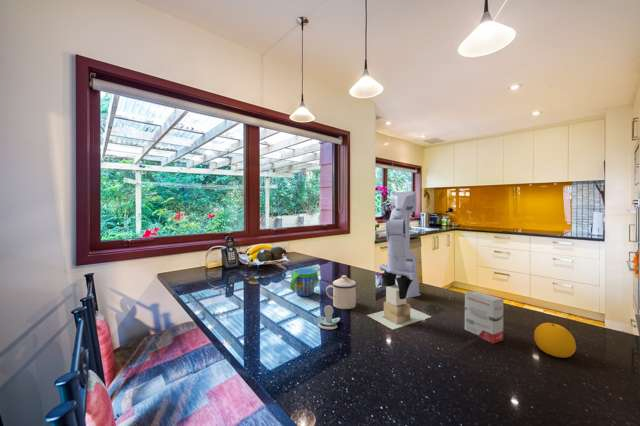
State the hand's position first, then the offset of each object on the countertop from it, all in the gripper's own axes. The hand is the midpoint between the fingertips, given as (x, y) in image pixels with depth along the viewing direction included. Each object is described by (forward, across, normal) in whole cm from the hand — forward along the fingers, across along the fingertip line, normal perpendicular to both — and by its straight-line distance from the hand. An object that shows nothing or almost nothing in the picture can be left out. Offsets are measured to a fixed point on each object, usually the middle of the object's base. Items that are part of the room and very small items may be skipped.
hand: (396, 296), depth 85 cm
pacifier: (+8, -8, -22) cm, 25 cm away
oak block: (+7, 0, 0) cm, 7 cm away
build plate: (+8, -1, +2) cm, 8 cm away
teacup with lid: (+8, -20, -9) cm, 23 cm away
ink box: (+8, +20, +14) cm, 26 cm away
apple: (+8, +34, +20) cm, 40 cm away
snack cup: (+8, -39, -15) cm, 43 cm away
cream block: (+2, 0, 0) cm, 2 cm away
